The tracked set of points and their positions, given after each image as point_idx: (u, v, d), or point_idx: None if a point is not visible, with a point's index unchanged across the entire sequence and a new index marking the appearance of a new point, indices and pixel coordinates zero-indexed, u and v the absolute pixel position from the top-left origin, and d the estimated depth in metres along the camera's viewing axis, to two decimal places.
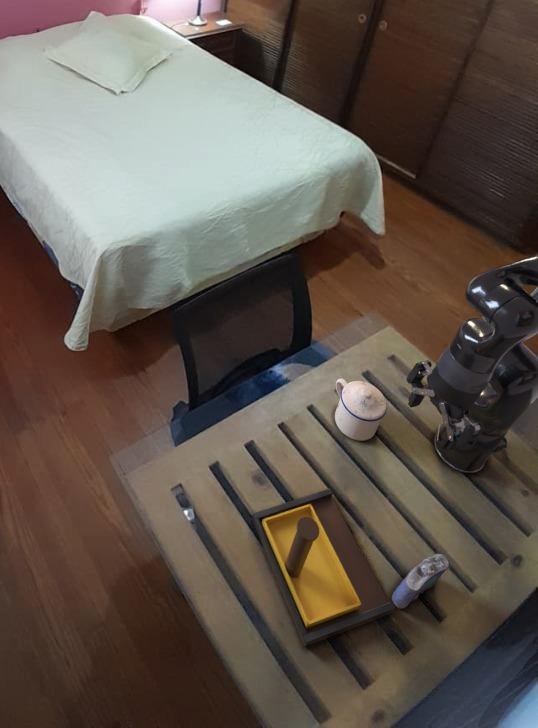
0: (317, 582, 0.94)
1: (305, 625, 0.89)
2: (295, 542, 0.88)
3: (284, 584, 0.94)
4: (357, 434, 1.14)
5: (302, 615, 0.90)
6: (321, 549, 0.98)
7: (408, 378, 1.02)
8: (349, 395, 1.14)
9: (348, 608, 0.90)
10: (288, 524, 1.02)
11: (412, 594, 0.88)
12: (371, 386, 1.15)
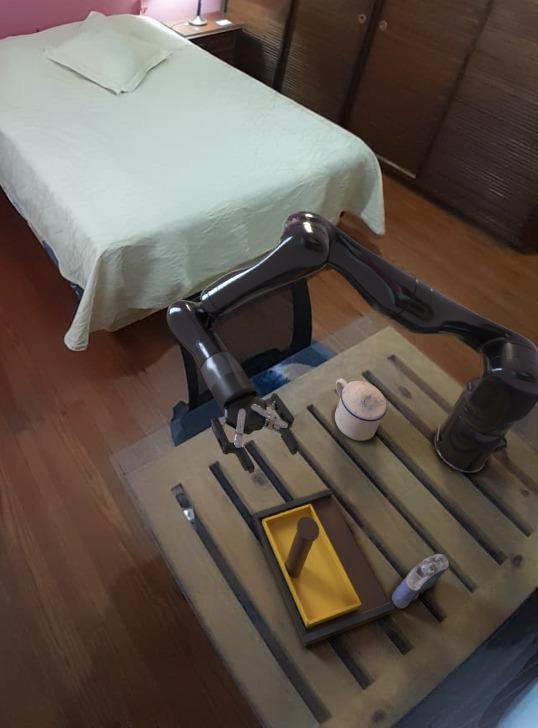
0: (317, 582, 0.94)
1: (305, 625, 0.89)
2: (295, 542, 0.88)
3: (284, 584, 0.94)
4: (357, 434, 1.14)
5: (302, 615, 0.90)
6: (321, 549, 0.98)
7: None
8: (349, 395, 1.14)
9: (348, 608, 0.90)
10: (288, 524, 1.02)
11: (412, 594, 0.88)
12: (371, 386, 1.15)
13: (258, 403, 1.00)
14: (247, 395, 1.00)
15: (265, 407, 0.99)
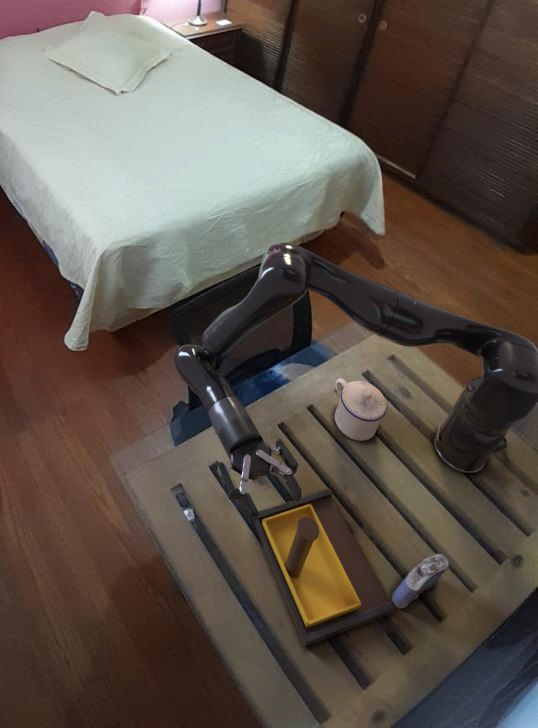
0: (317, 582, 0.94)
1: (305, 625, 0.89)
2: (295, 542, 0.88)
3: (284, 584, 0.94)
4: (357, 434, 1.14)
5: (302, 615, 0.90)
6: (321, 549, 0.98)
7: None
8: (349, 395, 1.14)
9: (348, 608, 0.90)
10: (288, 524, 1.02)
11: (412, 594, 0.88)
12: (371, 386, 1.15)
13: (263, 449, 1.03)
14: (253, 440, 1.03)
15: (270, 453, 1.02)
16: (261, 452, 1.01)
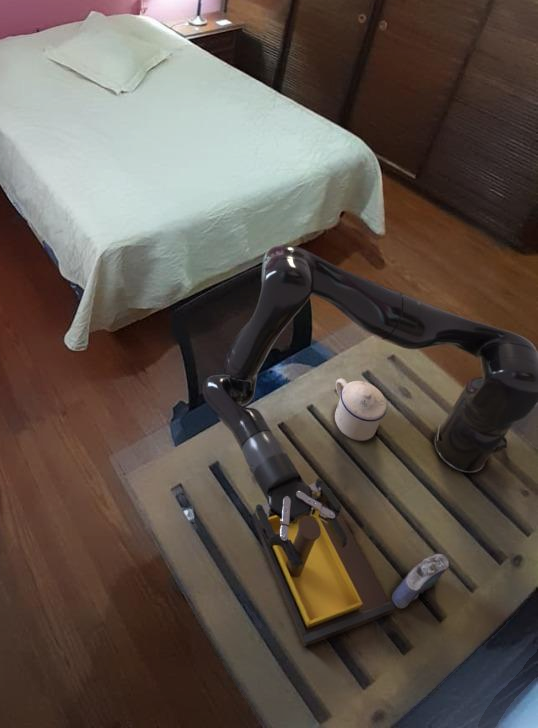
0: (318, 581, 0.94)
1: (306, 625, 0.89)
2: (296, 542, 0.88)
3: (284, 584, 0.94)
4: (357, 434, 1.14)
5: (303, 615, 0.90)
6: (322, 548, 0.98)
7: None
8: (349, 395, 1.14)
9: (349, 608, 0.90)
10: (289, 524, 1.02)
11: (412, 594, 0.88)
12: (371, 386, 1.15)
13: (303, 489, 0.97)
14: (292, 480, 0.97)
15: (310, 493, 0.96)
16: (301, 493, 0.95)
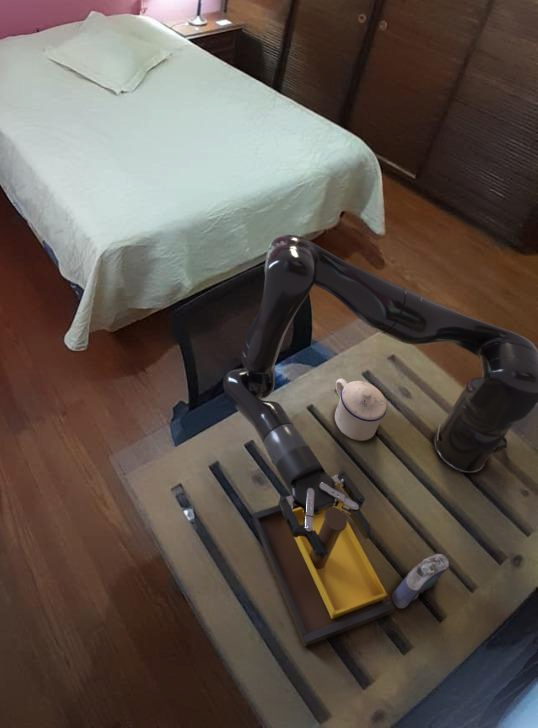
0: (342, 573, 0.95)
1: (331, 615, 0.90)
2: (322, 533, 0.89)
3: (284, 584, 0.94)
4: (357, 434, 1.14)
5: (328, 605, 0.91)
6: (345, 540, 0.99)
7: None
8: (349, 395, 1.14)
9: (374, 598, 0.91)
10: None
11: (412, 594, 0.88)
12: (371, 386, 1.15)
13: (326, 481, 0.98)
14: (314, 472, 0.98)
15: (333, 485, 0.97)
16: (324, 485, 0.96)
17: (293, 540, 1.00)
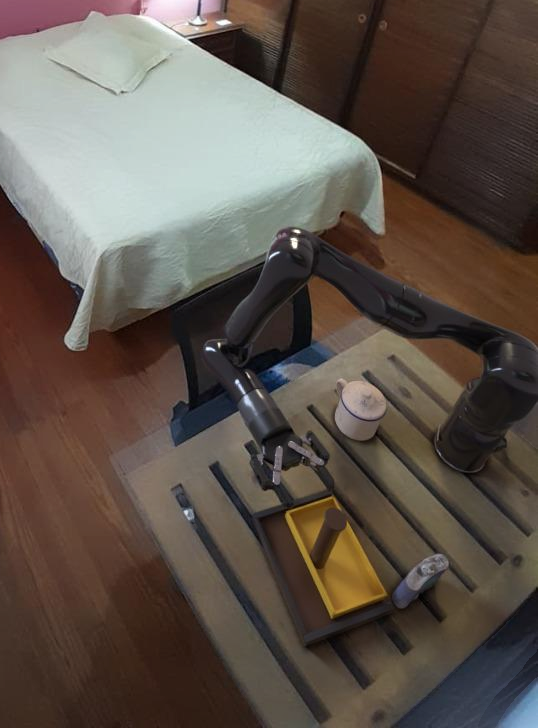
0: (342, 573, 0.95)
1: (331, 615, 0.90)
2: (322, 533, 0.89)
3: (284, 584, 0.94)
4: (357, 434, 1.14)
5: (328, 605, 0.91)
6: (345, 540, 0.99)
7: None
8: (349, 395, 1.14)
9: (374, 598, 0.91)
10: (311, 516, 1.02)
11: (412, 594, 0.88)
12: (371, 386, 1.15)
13: (294, 440, 1.04)
14: (284, 432, 1.04)
15: (301, 444, 1.03)
16: (293, 443, 1.02)
17: (293, 540, 1.00)
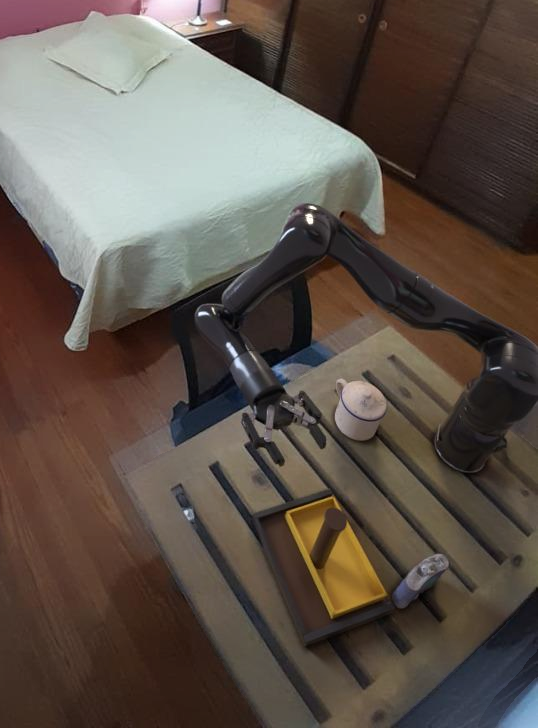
0: (342, 573, 0.95)
1: (331, 615, 0.90)
2: (322, 533, 0.89)
3: (284, 584, 0.94)
4: (357, 434, 1.14)
5: (328, 605, 0.91)
6: (345, 540, 0.99)
7: None
8: (349, 395, 1.14)
9: (374, 598, 0.91)
10: (311, 516, 1.02)
11: (412, 594, 0.88)
12: (371, 386, 1.15)
13: (286, 400, 1.03)
14: (276, 392, 1.04)
15: (293, 403, 1.03)
16: (284, 402, 1.02)
17: (293, 540, 1.00)
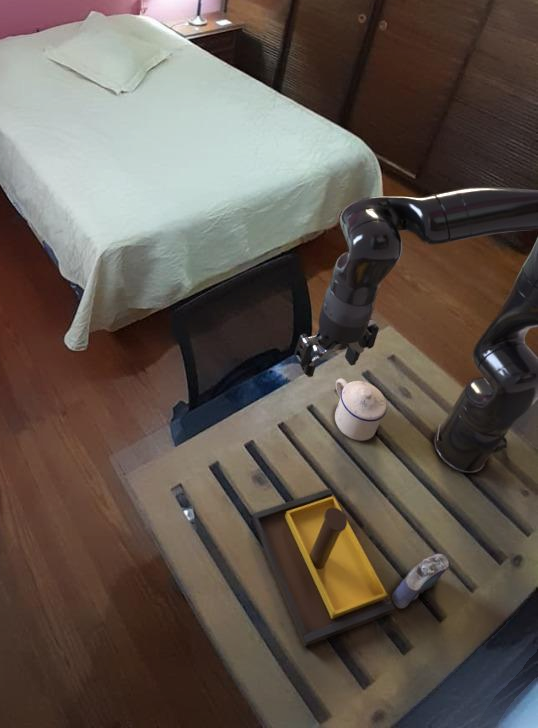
0: (342, 573, 0.95)
1: (331, 615, 0.90)
2: (322, 533, 0.89)
3: (284, 584, 0.94)
4: (357, 434, 1.14)
5: (328, 605, 0.91)
6: (345, 540, 0.99)
7: None
8: (349, 395, 1.14)
9: (374, 598, 0.91)
10: (311, 516, 1.02)
11: (412, 594, 0.88)
12: (371, 386, 1.15)
13: None
14: None
15: None
16: (353, 342, 0.92)
17: (293, 540, 1.00)
